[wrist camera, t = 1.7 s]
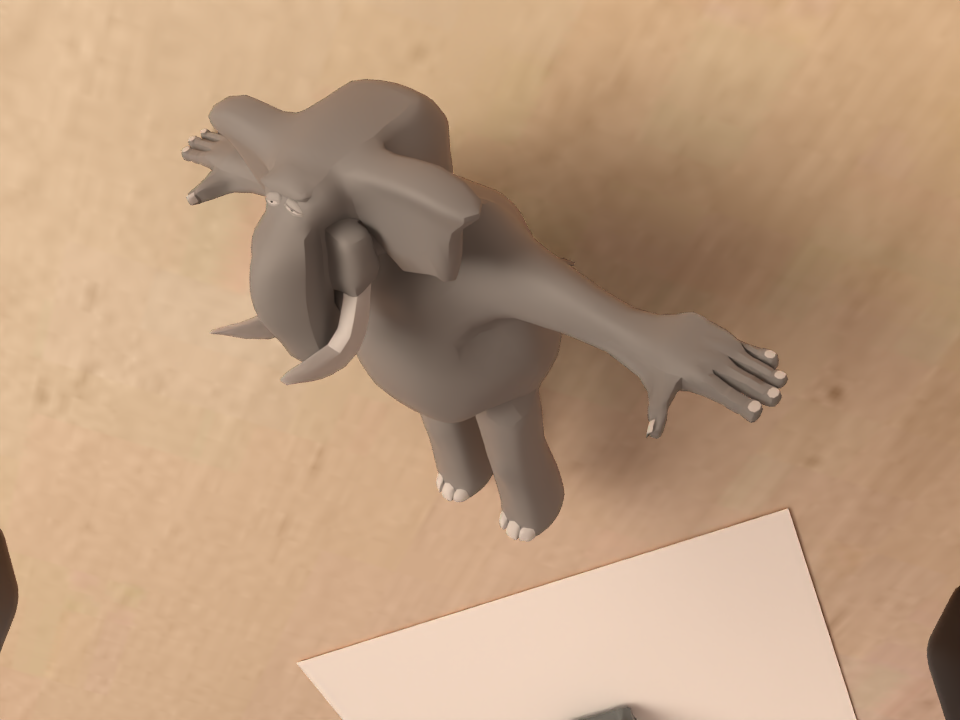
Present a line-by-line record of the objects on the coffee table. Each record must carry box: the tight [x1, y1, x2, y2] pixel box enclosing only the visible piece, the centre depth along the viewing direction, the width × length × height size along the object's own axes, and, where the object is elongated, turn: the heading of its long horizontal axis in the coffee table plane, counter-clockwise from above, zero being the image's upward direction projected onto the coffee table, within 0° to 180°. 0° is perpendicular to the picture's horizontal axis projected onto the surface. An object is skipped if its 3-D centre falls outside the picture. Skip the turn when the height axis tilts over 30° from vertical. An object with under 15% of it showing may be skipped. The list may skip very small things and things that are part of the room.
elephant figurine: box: [181, 79, 788, 541], centre depth 13 cm, size 10×6×9 cm
